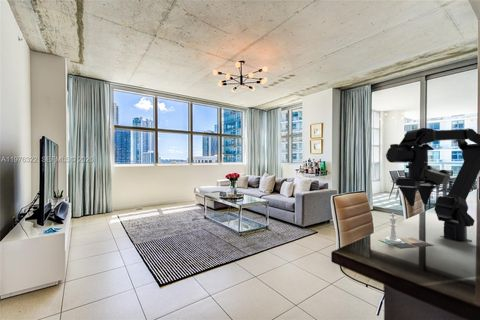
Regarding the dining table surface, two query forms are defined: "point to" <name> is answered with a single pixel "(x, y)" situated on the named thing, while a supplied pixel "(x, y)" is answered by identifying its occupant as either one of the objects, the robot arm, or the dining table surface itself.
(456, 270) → the dining table surface
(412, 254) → the dining table surface
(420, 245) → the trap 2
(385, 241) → the pad
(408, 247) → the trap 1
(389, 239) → the chess piece
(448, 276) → the dining table surface
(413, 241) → the walnut board
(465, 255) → the dining table surface
